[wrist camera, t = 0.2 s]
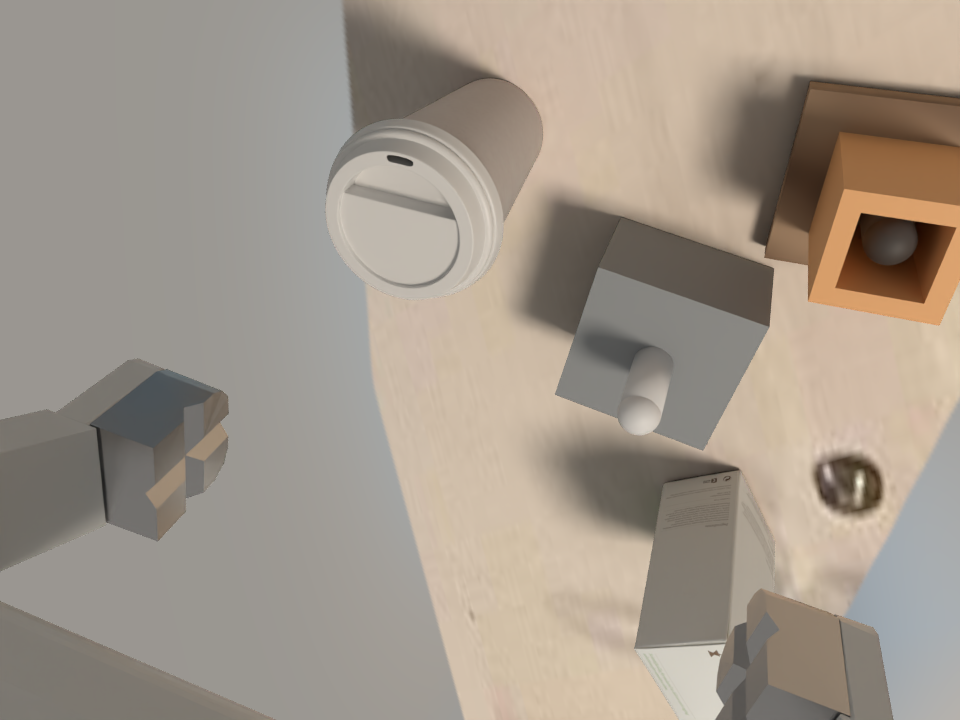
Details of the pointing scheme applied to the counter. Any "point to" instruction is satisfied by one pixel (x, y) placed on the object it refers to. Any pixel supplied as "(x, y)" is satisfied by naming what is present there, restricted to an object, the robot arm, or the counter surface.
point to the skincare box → (701, 585)
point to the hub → (666, 333)
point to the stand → (813, 152)
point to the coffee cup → (433, 190)
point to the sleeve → (891, 193)
